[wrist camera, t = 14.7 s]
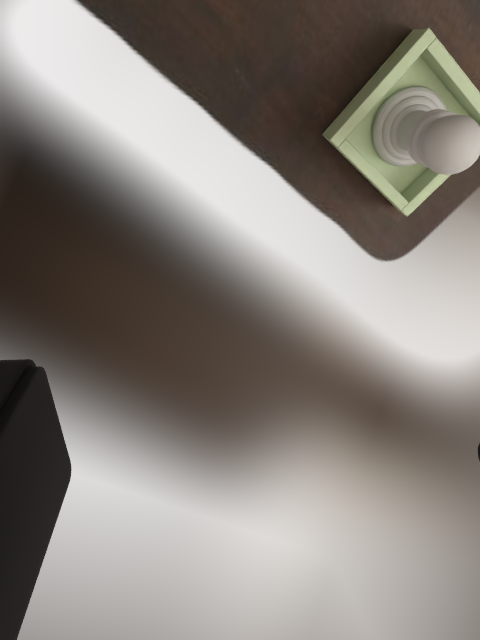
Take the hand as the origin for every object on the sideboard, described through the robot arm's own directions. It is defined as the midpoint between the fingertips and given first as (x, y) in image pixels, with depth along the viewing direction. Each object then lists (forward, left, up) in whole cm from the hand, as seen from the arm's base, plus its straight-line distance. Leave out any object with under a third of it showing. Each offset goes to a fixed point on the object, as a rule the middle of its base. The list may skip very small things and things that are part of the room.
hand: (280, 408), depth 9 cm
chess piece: (-2, +13, -28) cm, 31 cm away
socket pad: (-2, +13, -28) cm, 31 cm away
